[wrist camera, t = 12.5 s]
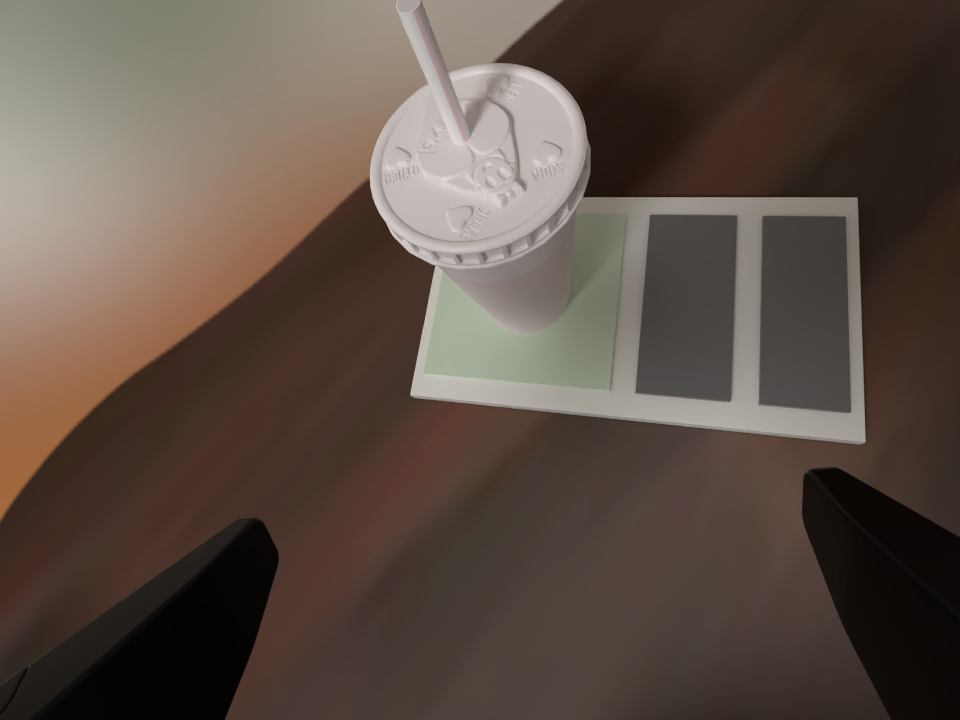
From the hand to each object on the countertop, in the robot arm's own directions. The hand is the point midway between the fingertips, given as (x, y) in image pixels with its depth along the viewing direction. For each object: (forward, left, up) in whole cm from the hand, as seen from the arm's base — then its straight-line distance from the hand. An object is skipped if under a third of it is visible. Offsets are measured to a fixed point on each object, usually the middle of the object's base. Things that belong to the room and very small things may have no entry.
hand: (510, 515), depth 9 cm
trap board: (+10, -1, -14) cm, 17 cm away
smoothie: (+10, +3, -13) cm, 17 cm away
